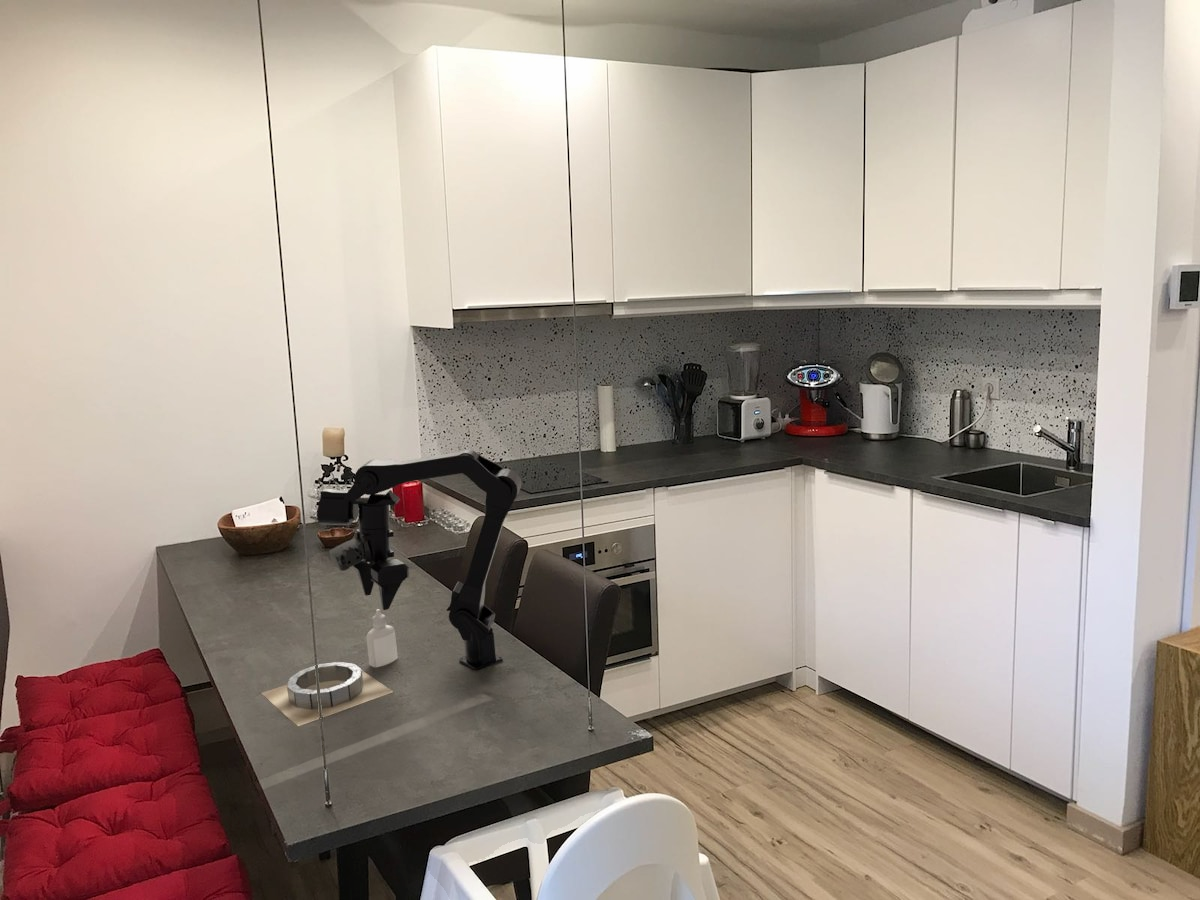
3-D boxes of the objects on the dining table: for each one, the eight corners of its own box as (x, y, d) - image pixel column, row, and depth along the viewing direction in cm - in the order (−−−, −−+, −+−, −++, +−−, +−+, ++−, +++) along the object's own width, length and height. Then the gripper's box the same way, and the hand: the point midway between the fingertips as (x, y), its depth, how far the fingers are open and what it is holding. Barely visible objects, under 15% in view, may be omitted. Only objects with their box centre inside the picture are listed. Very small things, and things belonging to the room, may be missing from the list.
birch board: (394, 697, 173) (393, 691, 172) (299, 732, 162) (298, 726, 161) (352, 668, 186) (351, 663, 186) (261, 699, 175) (260, 693, 175)
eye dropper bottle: (400, 668, 185) (393, 610, 183) (371, 674, 183) (364, 616, 181) (397, 660, 189) (391, 603, 187) (368, 665, 188) (362, 608, 185)
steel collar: (374, 691, 173) (372, 676, 172) (306, 716, 165) (304, 700, 164) (344, 670, 183) (343, 656, 182) (279, 693, 175) (277, 678, 174)
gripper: (316, 520, 184) (319, 595, 188) (351, 544, 169) (354, 626, 173) (371, 512, 191) (373, 585, 194) (409, 535, 176) (410, 614, 179)
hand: (376, 602), depth 185 cm, fingers open, 9 cm apart
